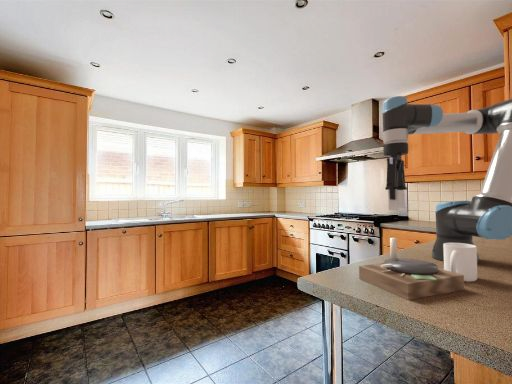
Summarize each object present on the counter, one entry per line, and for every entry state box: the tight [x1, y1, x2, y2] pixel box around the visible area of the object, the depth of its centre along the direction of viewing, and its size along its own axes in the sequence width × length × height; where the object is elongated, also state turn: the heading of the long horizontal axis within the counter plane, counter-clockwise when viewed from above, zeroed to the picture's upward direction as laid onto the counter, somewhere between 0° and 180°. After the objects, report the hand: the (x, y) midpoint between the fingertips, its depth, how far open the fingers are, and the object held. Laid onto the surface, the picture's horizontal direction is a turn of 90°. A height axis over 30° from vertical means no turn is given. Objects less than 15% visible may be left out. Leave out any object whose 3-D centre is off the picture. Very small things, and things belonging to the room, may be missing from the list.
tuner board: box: [358, 262, 465, 301], centre depth 78 cm, size 20×18×4 cm
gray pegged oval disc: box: [381, 237, 439, 275], centre depth 79 cm, size 18×14×8 cm
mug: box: [443, 243, 478, 282], centre depth 82 cm, size 12×8×10 cm
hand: (397, 208), depth 90 cm, fingers open, 9 cm apart
